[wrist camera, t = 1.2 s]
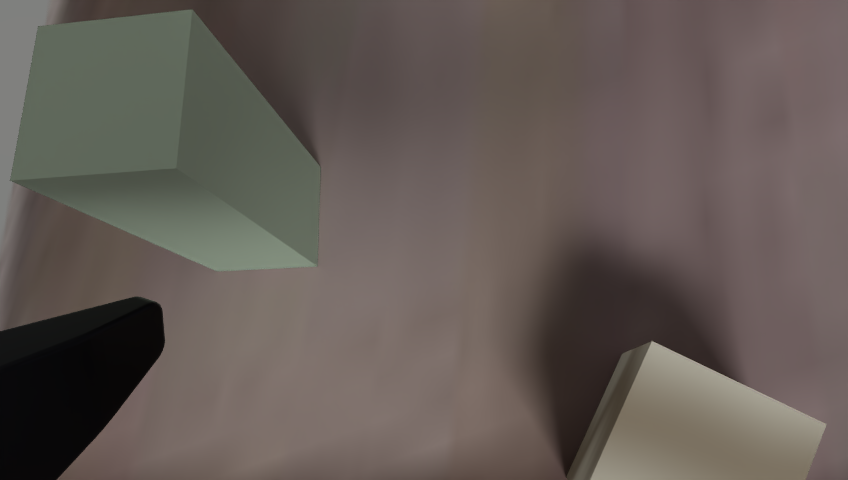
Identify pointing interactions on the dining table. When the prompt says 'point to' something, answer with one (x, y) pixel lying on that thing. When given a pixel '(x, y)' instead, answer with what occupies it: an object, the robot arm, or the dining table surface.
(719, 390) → the oatmeal cube
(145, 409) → the dining table surface
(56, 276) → the dining table surface
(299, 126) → the dining table surface
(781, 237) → the dining table surface
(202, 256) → the sage green block
